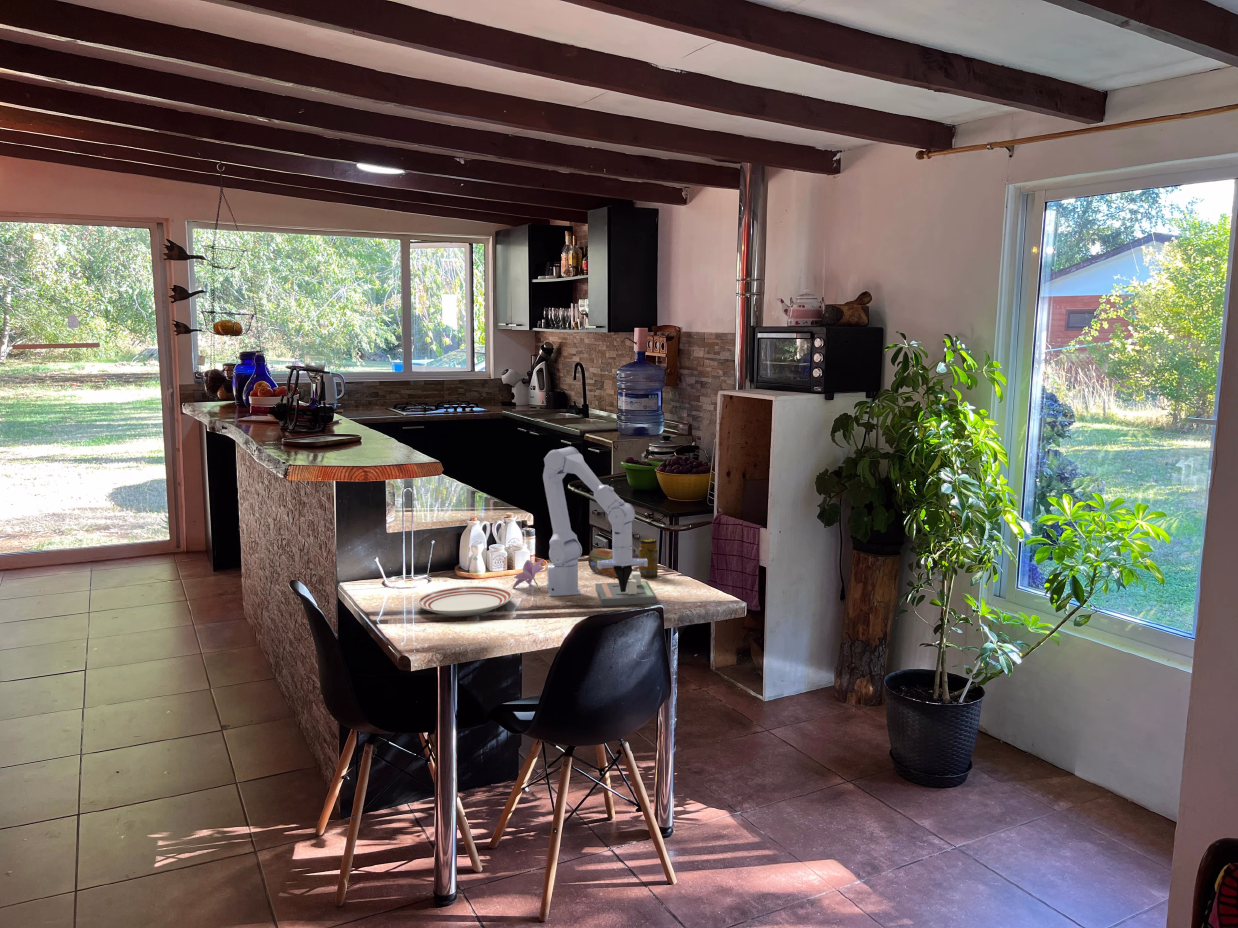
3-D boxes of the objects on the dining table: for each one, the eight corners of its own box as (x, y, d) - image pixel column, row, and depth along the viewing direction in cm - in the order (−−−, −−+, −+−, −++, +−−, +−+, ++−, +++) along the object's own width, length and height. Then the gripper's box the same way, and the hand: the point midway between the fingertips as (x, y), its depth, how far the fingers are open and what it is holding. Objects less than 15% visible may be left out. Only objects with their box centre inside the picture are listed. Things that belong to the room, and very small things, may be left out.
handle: (632, 585, 279) (632, 574, 278) (631, 583, 282) (631, 571, 281) (640, 585, 279) (640, 574, 279) (639, 582, 282) (639, 571, 282)
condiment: (649, 572, 304) (649, 536, 302) (667, 577, 297) (666, 540, 296) (632, 575, 299) (632, 539, 298) (650, 581, 293) (649, 544, 291)
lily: (551, 585, 293) (538, 558, 294) (558, 580, 282) (545, 551, 283) (517, 601, 289) (504, 574, 290) (523, 596, 278) (509, 568, 279)
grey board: (601, 605, 266) (601, 598, 266) (595, 589, 283) (595, 583, 283) (656, 602, 269) (656, 595, 268) (647, 587, 285) (647, 580, 285)
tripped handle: (628, 594, 270) (628, 582, 269) (627, 591, 273) (627, 579, 272) (636, 593, 270) (636, 582, 269) (635, 591, 273) (635, 579, 272)
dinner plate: (400, 606, 269) (399, 595, 269) (481, 589, 287) (480, 578, 286) (447, 628, 248) (447, 616, 248) (531, 608, 266) (531, 597, 265)
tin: (587, 571, 305) (587, 547, 304) (594, 570, 308) (593, 545, 306) (622, 579, 296) (622, 553, 294) (628, 577, 298) (628, 551, 297)
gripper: (598, 549, 264) (599, 595, 266) (649, 547, 266) (649, 593, 268) (596, 544, 271) (597, 589, 273) (645, 542, 273) (645, 587, 275)
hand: (622, 591), depth 271 cm, fingers closed
